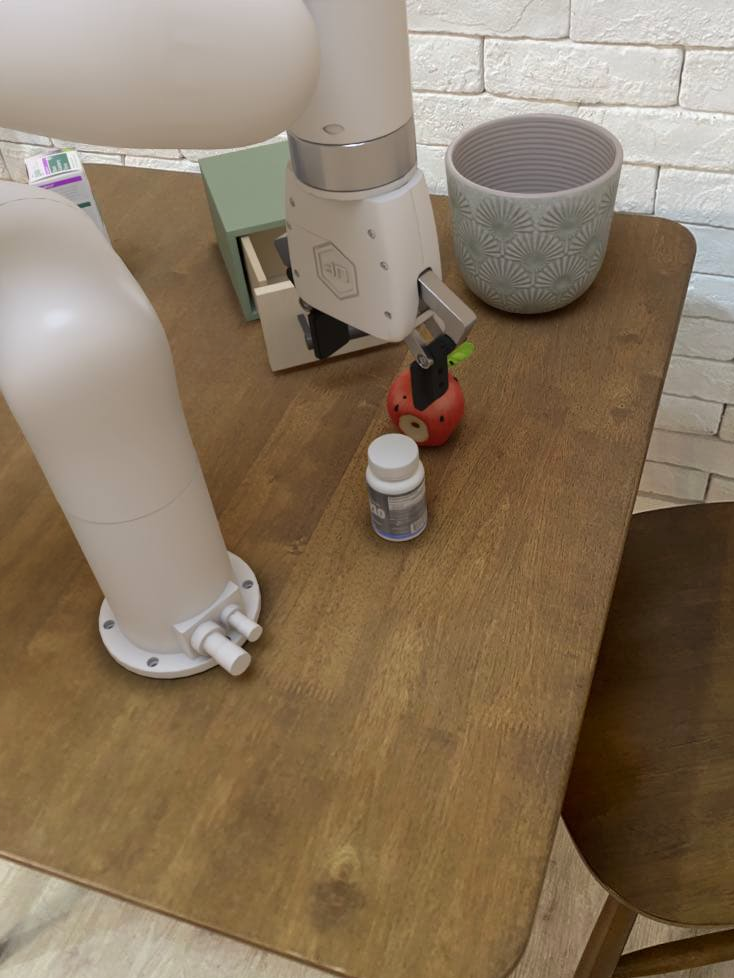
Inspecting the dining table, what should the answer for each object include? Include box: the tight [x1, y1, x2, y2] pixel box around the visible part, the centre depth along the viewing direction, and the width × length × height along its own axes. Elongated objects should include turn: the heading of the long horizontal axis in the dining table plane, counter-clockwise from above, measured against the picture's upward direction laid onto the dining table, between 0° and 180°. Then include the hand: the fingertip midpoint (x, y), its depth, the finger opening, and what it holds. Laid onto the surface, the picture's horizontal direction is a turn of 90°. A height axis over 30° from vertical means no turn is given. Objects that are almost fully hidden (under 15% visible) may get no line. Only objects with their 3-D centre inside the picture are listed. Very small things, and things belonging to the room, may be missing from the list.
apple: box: [386, 341, 475, 447], centre depth 83 cm, size 8×7×10 cm
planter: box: [444, 112, 625, 315], centre depth 95 cm, size 17×17×15 cm
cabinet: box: [197, 139, 291, 323], centre depth 103 cm, size 17×15×11 cm
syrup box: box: [23, 147, 113, 247], centre depth 102 cm, size 6×6×14 cm
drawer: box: [237, 226, 390, 372], centre depth 94 cm, size 20×13×9 cm, turn 18°
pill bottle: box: [365, 433, 428, 542], centre depth 76 cm, size 5×5×8 cm
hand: (380, 374), depth 68 cm, fingers open, 9 cm apart
